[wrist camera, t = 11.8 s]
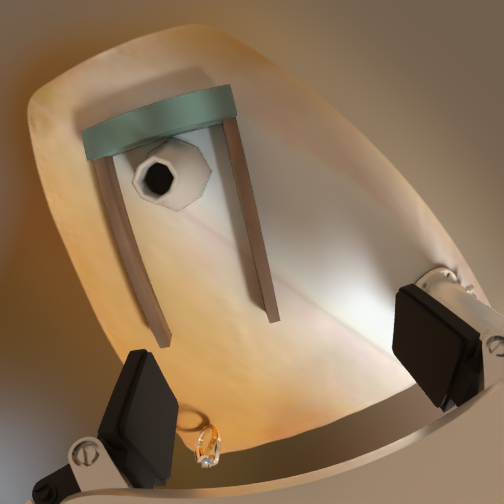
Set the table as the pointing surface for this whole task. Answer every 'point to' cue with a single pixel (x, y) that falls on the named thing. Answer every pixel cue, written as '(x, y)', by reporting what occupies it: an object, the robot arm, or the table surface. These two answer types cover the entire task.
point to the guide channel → (154, 129)
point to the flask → (172, 175)
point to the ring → (215, 440)
